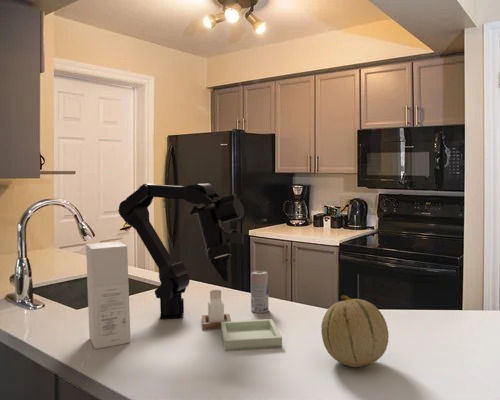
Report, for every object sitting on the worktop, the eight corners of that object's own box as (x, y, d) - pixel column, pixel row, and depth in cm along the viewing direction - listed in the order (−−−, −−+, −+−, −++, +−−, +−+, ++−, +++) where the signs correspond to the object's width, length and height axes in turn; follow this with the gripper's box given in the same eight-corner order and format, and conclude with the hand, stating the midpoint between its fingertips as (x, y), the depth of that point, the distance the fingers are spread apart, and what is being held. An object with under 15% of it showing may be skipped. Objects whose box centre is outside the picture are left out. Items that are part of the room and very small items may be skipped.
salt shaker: (210, 327, 128) (209, 293, 127) (208, 322, 131) (207, 289, 131) (224, 325, 129) (224, 292, 128) (221, 321, 132) (221, 288, 132)
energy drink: (269, 308, 144) (268, 270, 143) (268, 313, 139) (267, 274, 138) (252, 307, 145) (251, 270, 144) (250, 313, 139) (249, 274, 139)
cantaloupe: (377, 385, 92) (377, 311, 91) (310, 369, 100) (309, 301, 99) (396, 358, 104) (396, 294, 103) (335, 346, 112) (335, 286, 111)
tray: (225, 351, 110) (224, 340, 110) (221, 331, 124) (221, 322, 124) (282, 347, 112) (281, 337, 112) (272, 327, 126) (272, 319, 126)
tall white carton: (123, 332, 125) (120, 241, 123) (130, 342, 117) (127, 245, 115) (89, 338, 120) (85, 244, 119) (94, 349, 113) (90, 249, 111)
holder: (202, 329, 126) (202, 324, 125) (201, 320, 134) (201, 315, 133) (231, 327, 127) (231, 322, 126) (229, 318, 134) (229, 313, 134)
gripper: (241, 217, 123) (256, 274, 122) (234, 220, 141) (248, 269, 140) (200, 228, 121) (216, 286, 120) (199, 229, 140) (212, 279, 139)
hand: (224, 279), depth 130 cm, fingers open, 9 cm apart
